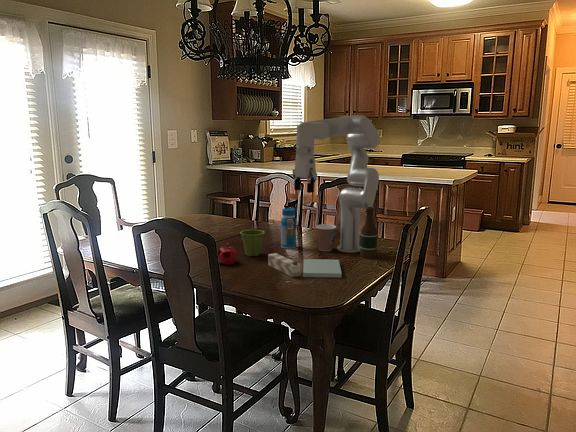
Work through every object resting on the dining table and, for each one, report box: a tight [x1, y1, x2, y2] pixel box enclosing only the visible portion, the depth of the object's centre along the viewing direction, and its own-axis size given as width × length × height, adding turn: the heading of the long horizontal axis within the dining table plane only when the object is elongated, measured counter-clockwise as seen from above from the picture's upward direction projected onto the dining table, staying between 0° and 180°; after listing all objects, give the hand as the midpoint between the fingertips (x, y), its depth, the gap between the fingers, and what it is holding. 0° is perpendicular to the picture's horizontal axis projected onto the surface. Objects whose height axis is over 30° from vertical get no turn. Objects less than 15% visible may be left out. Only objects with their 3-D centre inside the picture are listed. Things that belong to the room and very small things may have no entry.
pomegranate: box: [216, 243, 239, 266], centre depth 217 cm, size 10×10×9 cm
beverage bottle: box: [280, 207, 298, 250], centre depth 243 cm, size 8×8×20 cm
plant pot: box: [239, 229, 265, 257], centre depth 230 cm, size 12×12×11 cm
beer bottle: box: [359, 206, 378, 260], centre depth 226 cm, size 8×8×24 cm
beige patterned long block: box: [267, 252, 302, 278], centre depth 206 cm, size 20×4×6 cm, turn 33°
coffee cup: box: [315, 223, 337, 252], centre depth 240 cm, size 10×10×12 cm
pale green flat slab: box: [302, 258, 343, 279], centre depth 207 cm, size 20×16×2 cm
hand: (303, 191), depth 205 cm, fingers open, 9 cm apart
